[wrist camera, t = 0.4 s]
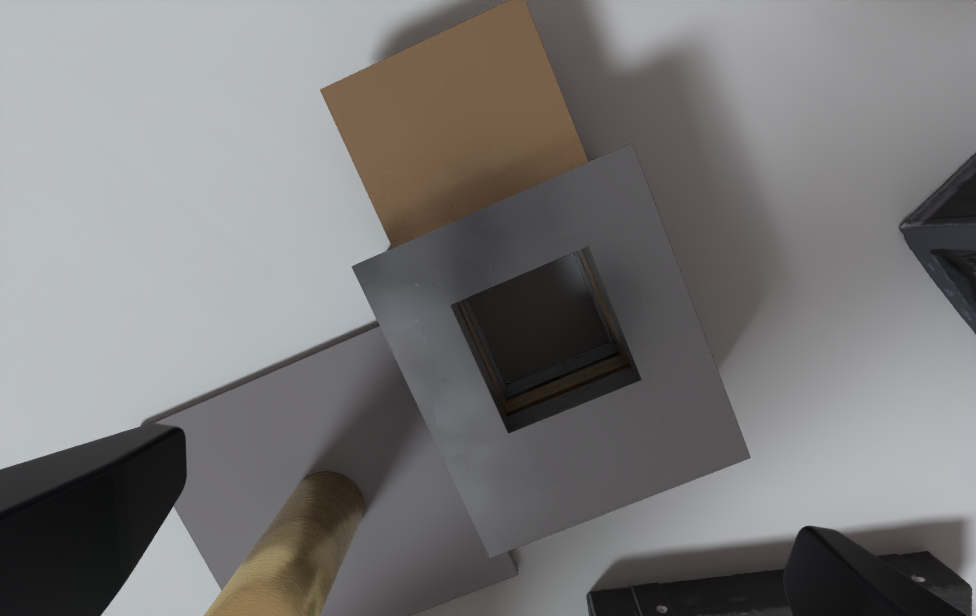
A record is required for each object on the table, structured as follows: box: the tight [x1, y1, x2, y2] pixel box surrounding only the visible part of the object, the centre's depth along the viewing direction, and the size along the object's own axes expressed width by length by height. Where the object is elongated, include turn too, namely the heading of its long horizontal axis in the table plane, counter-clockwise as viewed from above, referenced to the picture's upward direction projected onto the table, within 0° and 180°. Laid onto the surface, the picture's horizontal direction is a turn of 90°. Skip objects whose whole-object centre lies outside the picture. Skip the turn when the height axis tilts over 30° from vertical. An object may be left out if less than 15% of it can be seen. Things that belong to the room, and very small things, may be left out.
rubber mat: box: [153, 325, 518, 616], centre depth 23 cm, size 12×12×1 cm
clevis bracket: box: [320, 0, 751, 558], centre depth 19 cm, size 16×9×5 cm, turn 23°
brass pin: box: [204, 471, 364, 616], centre depth 18 cm, size 3×3×10 cm
